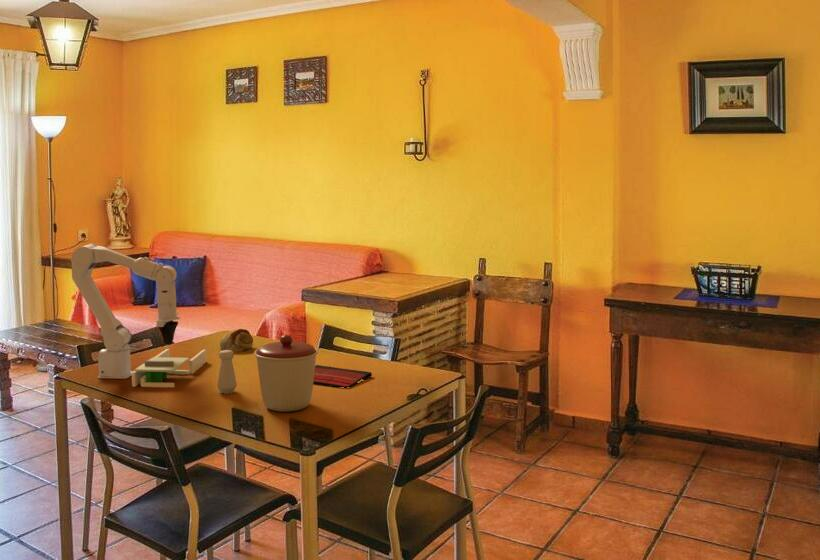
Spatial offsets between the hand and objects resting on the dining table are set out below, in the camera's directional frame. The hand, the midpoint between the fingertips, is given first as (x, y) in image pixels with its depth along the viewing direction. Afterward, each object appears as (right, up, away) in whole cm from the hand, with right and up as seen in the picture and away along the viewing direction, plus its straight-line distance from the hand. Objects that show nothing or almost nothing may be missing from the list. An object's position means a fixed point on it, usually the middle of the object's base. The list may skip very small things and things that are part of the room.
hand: (168, 344), depth 256 cm
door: (0, -6, -5) cm, 8 cm away
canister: (+44, -16, -31) cm, 56 cm away
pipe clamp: (-2, -12, -4) cm, 12 cm away
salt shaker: (+23, -14, -17) cm, 32 cm away
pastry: (+14, -5, +39) cm, 42 cm away
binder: (+54, -12, -1) cm, 55 cm away
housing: (0, -10, +3) cm, 11 cm away
